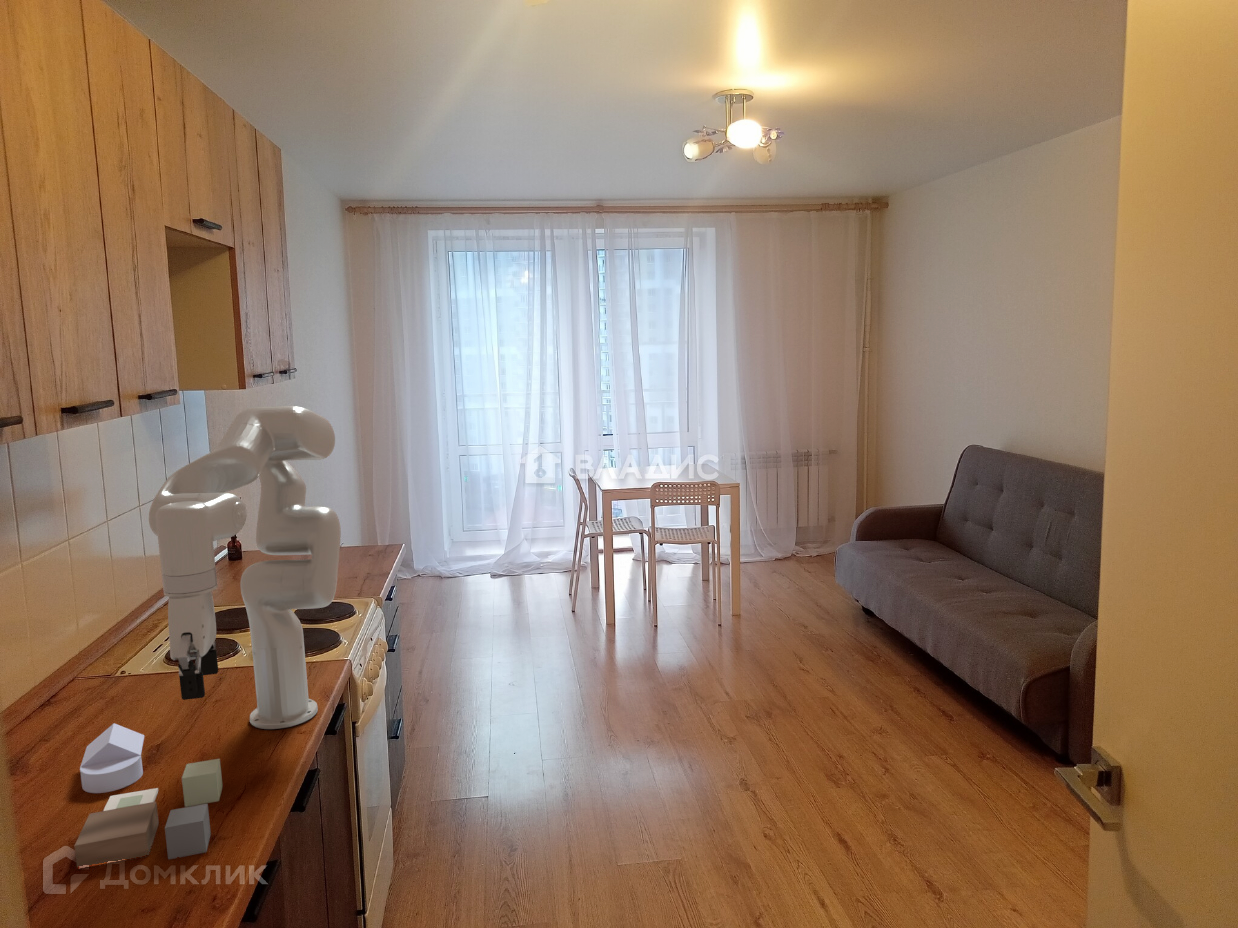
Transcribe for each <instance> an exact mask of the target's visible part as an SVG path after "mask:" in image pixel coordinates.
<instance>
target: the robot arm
mask: <svg viewBox="0 0 1238 928" xmlns="http://www.w3.org/2000/svg"><path fill="white" fill-rule="evenodd" d="M335 444H336V436H335V431H334V428H333V426H332V424H331V423H330V421H329V420H328V419H327V418H325V417H324V416H322V415H320V414H318V413H316V412H314V411H313V410H310V409H308V408H305V407H303V406H302V407H301V406H296V405H286V406H285V405H281V406H256V407H254V406H253V407H249V408H246V409H244V410H242V411H240V412H239V413H238V414H237V415H236V416H235V417H234V419H233V421H232V423H231V424H230V425H229V427H228V429H227V431H226V432H225V434H224V435H223V437H222V438H221V440H220V442H219V443H218V444H217V446H216V448H215V450H214V451H211V452H208V453H206V454H205V455H203V456H202V455H201V457H198V458H197V459H195V460H193V461H191V462H190V463H187V464H186V465H184V466H183V467H181V468H179V469H178V470H176V471H175V472H173V473H172V474H171V475H169V476H168V478H167V479H166V480H165V481H164V482H163V484H162V486H161V487H160V489H159V490H158V491H157V494H156V495H155V496H154V498H153V500H152V503H151V505H150V509H149V512H148V523H149V527H150V529H151V532H153V534H154V535H156V537H157V540H158V543H157V544H158V551H159V560H160V561H159V562H160V568H161V569H160V570H161V580H162V587H163V588H162V590H163V595H164V597H167V598H168V606H167V616H168V617H167V622H168V641H169V655H170V658H171V660H173V661H177V660H178V667H177V668H178V675H179V677H178V679H179V688H180V696H181V700H183V701H185V700H186V701H187V700H193V699H194V700H195V699H202V698H204V697H205V695H206V690H205V681H204V676H209V675H210V676H211V675H217V674H218V672H219V663H218V662H219V661H218V652H217V651H218V650H217V649H216V646H217V644H216V641H215V640H216V637H217V622H216V621H217V620H216V612H215V604H214V598H213V597H214V596H213V595H214V594H213V591H215V590H217V589H218V580H217V579H218V578H217V569H216V558H215V550H214V542H215V541H219V540H225V539H228V538H232V537H234V536H235V535H237V534H238V533H239V532H240V531H241V530H242V529H243V527H244V526H245V524H246V522H247V516H248V515H247V514H248V513H247V512H248V511H247V507H246V505H245V502H244V501H243V500H242V498H240V497H239V496H238V495H237V494H234V493H229V492H230V491H231V492H232V491H234V490H237V489H240V488H242V487H245V486H247V485H250V484H252V483H253V482H255V481H256V480H257V479H258V478H259V482H260V497H259V507H258V512H257V523H256V529H255V530H256V531H255V541H256V542H255V543H256V546H257V548H258V550H259V551H260V552H261V553H263V554H266V555H270V556H271V555H272V556H296V555H297V556H298V555H301V556H302V555H306V556H307V555H311V558H309V559H308V558H307V559H274V560H273V559H271V560H263V561H262V560H261V561H258V562H255V563H253V564H251V565H249V566H248V567H246V568H245V569H244V571H243V572H242V574H241V577H240V585H239V587H240V593H241V597H242V600H243V603H244V606H245V609H246V613H247V619H248V623H249V624H248V625H249V632H250V640H251V642H250V643H251V651H252V653H251V654H252V662H253V673H254V682H255V694H256V704H257V705H256V706H257V707H256V708H255V709H253V710H252V711H251V713H250V714H249V722H250V724H251V726H253V727H255V728H258V729H262V730H263V729H264V730H277V729H278V730H279V729H285V728H286V729H287V728H291V727H294V726H297V725H300V724H303V723H306V722H307V721H309V720H311V719H312V718H313V717H315V716H316V714H317V713H318V711H319V710H318V709H319V708H318V703H317V702H316V701H315V700H313V699H311V698H309V689H308V677H307V676H308V675H307V664H306V662H307V661H306V653H305V639H304V630H303V626H302V622H301V621H300V619H299V618H298V616H297V615H296V613H295V612H294V611H293V610H304V609H305V610H308V609H320V608H321V609H323V608H325V607H327V606H329V605H330V604H332V602H333V600H334V599H335V596H336V591H337V586H338V585H337V583H338V574H339V573H338V572H339V562H340V561H339V560H340V550H341V549H340V546H341V535H342V534H341V524H340V523H341V522H340V519H339V515H338V514H337V512H336V511H335V510H333V509H332V508H331V507H328V506H317V505H316V506H306V494H307V486H306V483H305V481H304V479H303V477H302V476H301V475H300V474H299V472H298V471H297V470H296V469H295V468H294V467H293V466H292V465H291V464H290V463H289V461H316V460H320V461H321V460H324V459H327V458H328V457H330V455H331V454H332V452H333V450H334V448H335ZM193 660H194V661H195V662H193Z"/></svg>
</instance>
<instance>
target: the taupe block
mask: <svg viewBox="0 0 1238 928" xmlns="http://www.w3.org/2000/svg"><path fill="white" fill-rule="evenodd" d="M157 804H158V803H157V801H154V802H151V803H145V804H140V805H134V806H129V807H123V808H118V809H112V810H107V811H103V810H102V811H96V812H91V813H89V814H88V816H87V819H86V821H85V823H84V825H83V827H82V829H81V831H80V834H79V835H78V836H77V840H76V842H75V844H74V846H73V847H74V852H75V853H74V854H75V860H76V862H75V863H76V868H77V867H78V866H83V865H92V864H99V863H104V862H108V861H118V860H122V859H130V860H132V859H131V858H135V859H137V858H136V857H140V858H143V857H142V856H145V855H150V853H149V852H151V850H150V849H152V847H153V844H154V839H155V837H156V834H157V830H158V828H159V813H158V805H157ZM151 846H152V847H151ZM145 857H146V856H145Z"/></svg>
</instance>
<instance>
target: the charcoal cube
mask: <svg viewBox="0 0 1238 928" xmlns="http://www.w3.org/2000/svg"><path fill="white" fill-rule="evenodd" d="M208 804H209V803H205V804H199V805H193V806H188V807H185V806H184V807H181V808H176V809H171V810H170V811H169V815H168V817H167V821H166V823H165V826H164V833H165V841H166V850H167V859H168V860H173V859H178V858H177V857H179V858H184V857H188V856H192V855H193V856H194V855H198V854H199V855H200V854H204V853H207V851H208V847H209V842H210V840H211V835H212V832H211V824H210V816H209V815H210V813H209V805H208Z"/></svg>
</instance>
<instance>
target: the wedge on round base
mask: <svg viewBox="0 0 1238 928" xmlns="http://www.w3.org/2000/svg"><path fill="white" fill-rule="evenodd" d="M144 741H145V735H144V734H143V733H140V732H138V731H134V730H132V729H130V728H127V727H124V726H122V725H119V724H117V723H112V724H111V725H110V726H109V727H108V728H106V729H105V730H104V731H103V732H102V733H101V734H100V735H98V736H97V737H96V738H94V740H93V741H91V743H89V744H88V745H87V746H86V748H85V752H84V755H83V758H82V761H81V764H80V766H79V771H80V781H81V787H82V790H83V791H85V792H87V793H88V794H89V793H90V794H102V793H109V792H114V791H117V790H120V789H123V788H126V787H129V786H130V785H132V784H134V783H136V782H137V781H138V780H140V779H141V778H142V776H143V774H144V770H143V769H144V768H143V760H142V751H143V745H144Z"/></svg>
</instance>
